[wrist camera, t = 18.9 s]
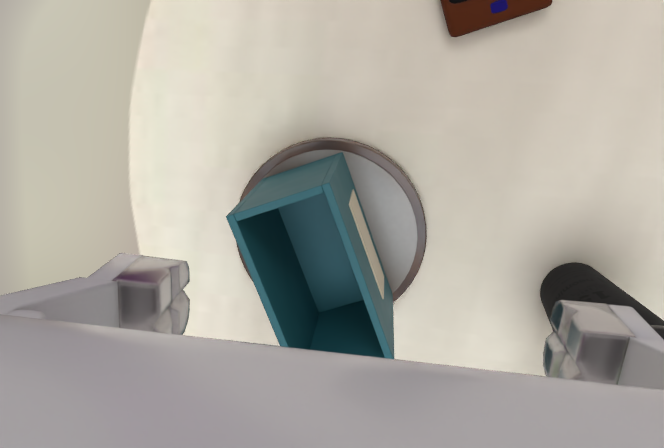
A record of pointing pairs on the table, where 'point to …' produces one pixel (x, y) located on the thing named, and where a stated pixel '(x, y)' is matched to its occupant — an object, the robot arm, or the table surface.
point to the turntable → (368, 202)
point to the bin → (316, 261)
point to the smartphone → (485, 13)
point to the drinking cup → (590, 292)
